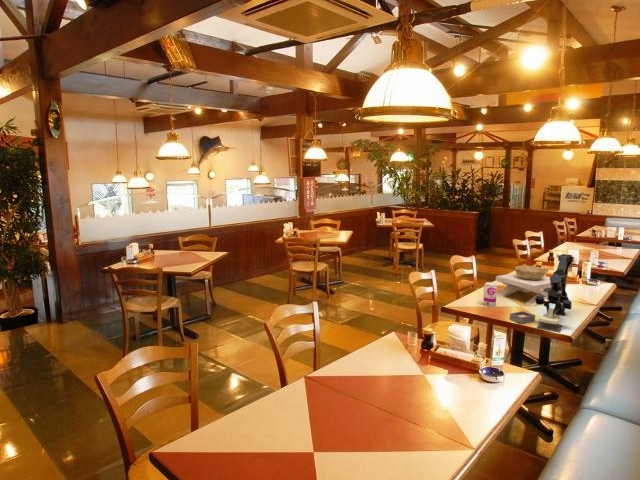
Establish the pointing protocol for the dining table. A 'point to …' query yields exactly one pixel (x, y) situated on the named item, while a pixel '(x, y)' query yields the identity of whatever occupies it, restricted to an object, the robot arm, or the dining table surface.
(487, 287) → the supplement can
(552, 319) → the lid
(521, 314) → the storage box
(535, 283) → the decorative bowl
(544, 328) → the rubber mat
